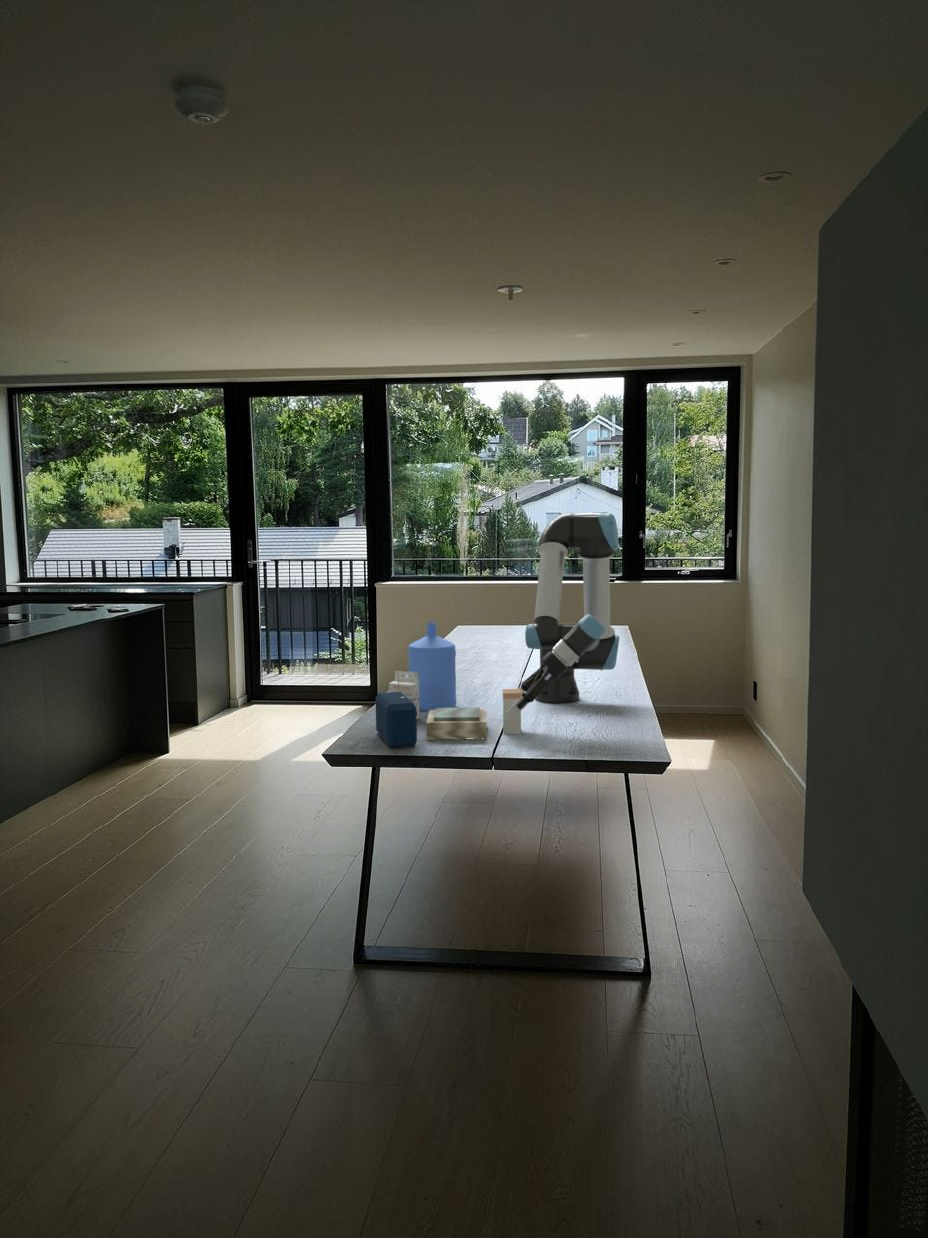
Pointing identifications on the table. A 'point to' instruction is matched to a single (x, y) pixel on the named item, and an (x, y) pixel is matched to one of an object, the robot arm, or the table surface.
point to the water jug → (434, 670)
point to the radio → (396, 719)
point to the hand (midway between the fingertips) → (508, 710)
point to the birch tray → (456, 723)
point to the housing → (509, 723)
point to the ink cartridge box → (407, 687)
